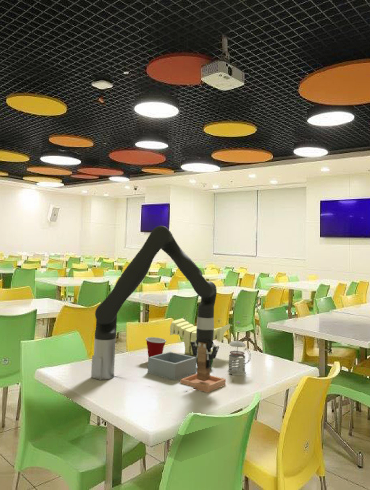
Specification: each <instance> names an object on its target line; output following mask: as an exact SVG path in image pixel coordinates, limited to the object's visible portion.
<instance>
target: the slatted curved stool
mask: <svg viewBox="0 0 370 490" xmlns="http://www.w3.org/2000/svg"><path fill="white" fill-rule="evenodd" d="M230 328H231V323H228V324H226V325H224V326H221V327H217V328H214V338H213V341H215V340H216V342H219V343H220V342H222V341H223V339H224V335H225V334H226V331H228V330H230ZM196 330H197V325H195V326H194V324H193V323H191V322H189V321H188V320H186V319H184V318H183V317H182V318H178V319H175V320H172V321H171V324H170V327H169V332H170V333H169V335H170V336H171V335H175V336H176V335H177V336H179V337H181V338H183V340H182V341H183V344H184V355H187V356H194V355H193V352H192V347H191V342H193V341H196V340H197V338H196ZM197 349H198V346H197ZM211 351H213V350H212V348H211ZM211 354H212V353H211Z"/></svg>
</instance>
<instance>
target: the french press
mask: <svg viewBox="0 0 370 490" xmlns="http://www.w3.org/2000/svg"><path fill="white" fill-rule="evenodd" d="M236 324H237V325H239V324H241V321H240V320H236ZM228 344H229V346H231V347H234V348H235V347H236V350H231V351H229V353H230V354H229V355H228V370H226V372H227V373H228V375H230V374H232V375H231V376H235V375H243V376H246V375H247V374H246V373H247V372H246V364H249V362H250V361H251V357H252V354H251V352H250V349H249V348H246V345H247V344H246V343H245V342H244V341H239V338H237V340H233V341H231V342H229V343H228ZM243 347H245V348H244V350H243V351H240V350H238V349H239V348H243ZM246 351H247V353H248V358H249V359H248V361H247V362H246V355H245V352H246ZM245 374H246V375H245Z"/></svg>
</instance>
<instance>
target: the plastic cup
mask: <svg viewBox="0 0 370 490" xmlns="http://www.w3.org/2000/svg"><path fill="white" fill-rule="evenodd" d="M145 341H146V345H147V346H146V347H147V348H146V349H147V355H148V357H152V356H155V355H159V354H163V353H164V348H165V345H166V343H167V340H166V339H165V338H161V337H153V336H151V337H150V336H149V337H145Z"/></svg>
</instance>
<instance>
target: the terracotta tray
mask: <svg viewBox="0 0 370 490" xmlns="http://www.w3.org/2000/svg"><path fill="white" fill-rule="evenodd" d="M226 381H227V380H226V378H222V377H219V376H214V375H211V374H210V379H209V380H206V381H202V380H198V379H197V373H194V374H191V375H188V376H185V377H183V378H180V383H181V384H184V385H187V386H190V387H193V390H196V389H197V390H196V391H199V390H201V392H203V391H204V392H203V393H206V392H207V393H211V392H213V391H214V389H215V390H217V389H219V387H220V388H221V386H222V387H224V386H226ZM223 385H224V386H223ZM212 390H213V391H212Z"/></svg>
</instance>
